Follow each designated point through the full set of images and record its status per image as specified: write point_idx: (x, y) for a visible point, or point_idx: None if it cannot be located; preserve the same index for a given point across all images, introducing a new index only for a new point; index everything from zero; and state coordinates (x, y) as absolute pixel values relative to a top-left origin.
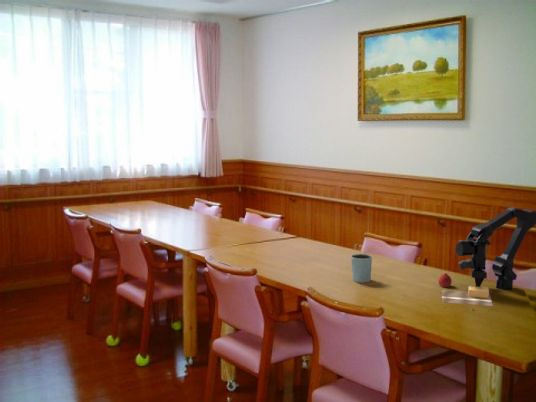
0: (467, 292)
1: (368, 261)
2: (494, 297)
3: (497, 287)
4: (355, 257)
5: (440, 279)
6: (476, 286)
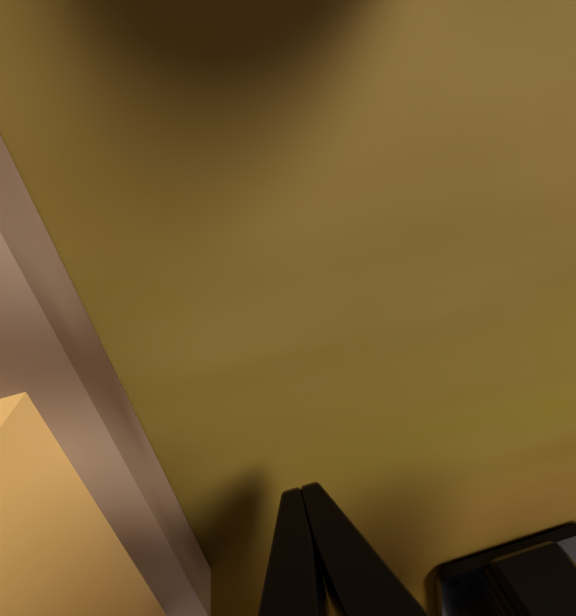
0: (16, 377)
1: None
2: (223, 600)
3: (510, 603)
4: None
5: None
6: (273, 545)
